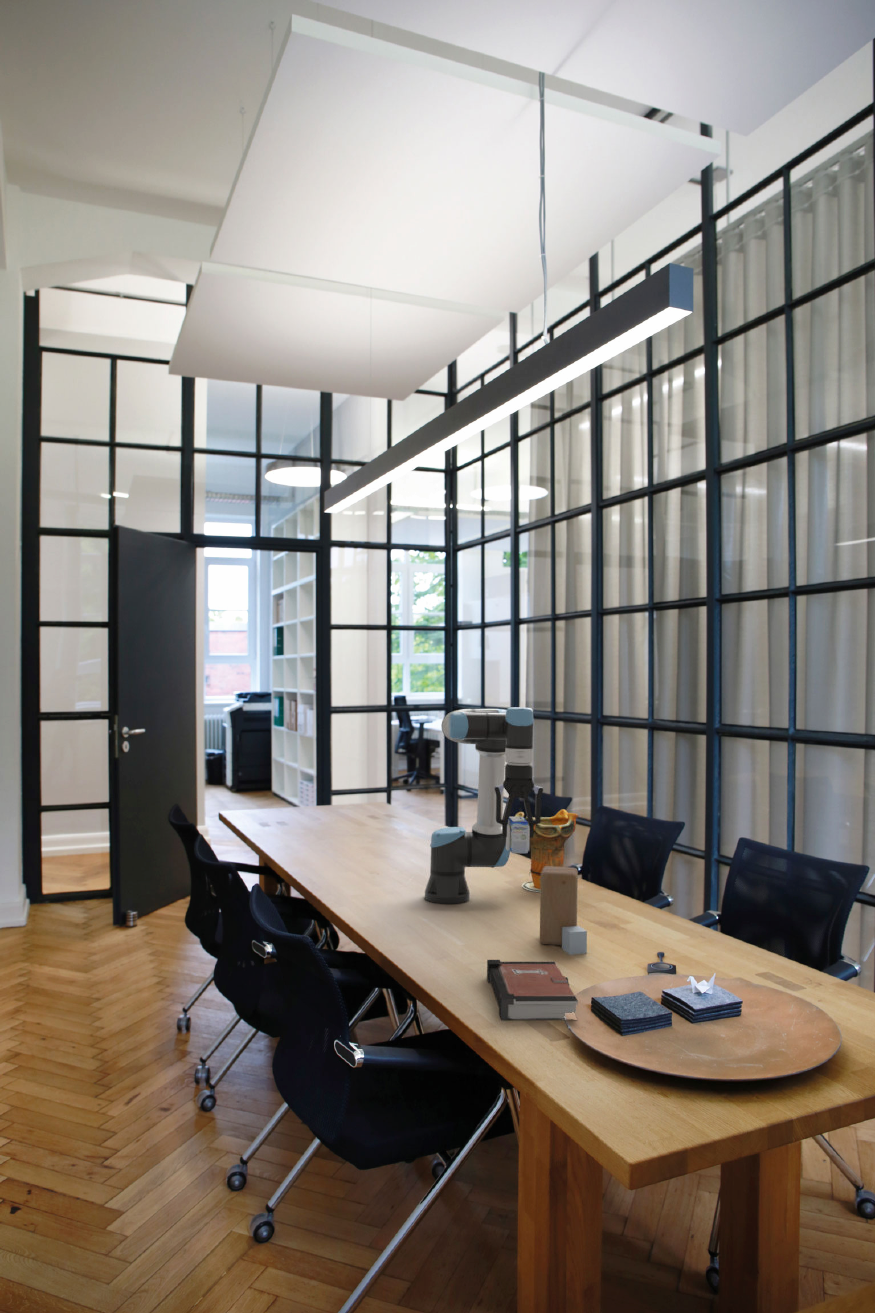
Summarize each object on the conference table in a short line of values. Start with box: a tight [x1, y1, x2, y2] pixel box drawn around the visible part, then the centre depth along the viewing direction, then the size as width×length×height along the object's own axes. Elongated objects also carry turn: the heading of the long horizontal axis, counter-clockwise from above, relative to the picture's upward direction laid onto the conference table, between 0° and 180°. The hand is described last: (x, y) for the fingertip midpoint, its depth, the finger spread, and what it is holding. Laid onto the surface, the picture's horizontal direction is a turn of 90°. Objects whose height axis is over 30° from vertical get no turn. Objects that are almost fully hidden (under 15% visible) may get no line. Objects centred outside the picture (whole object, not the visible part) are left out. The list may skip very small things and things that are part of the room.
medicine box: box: [507, 816, 529, 854], centre depth 231 cm, size 8×4×9 cm, turn 4°
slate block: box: [561, 925, 588, 955], centre depth 231 cm, size 5×5×6 cm
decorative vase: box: [514, 808, 579, 893], centre depth 303 cm, size 21×23×28 cm
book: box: [486, 959, 579, 1022], centre depth 196 cm, size 26×18×5 cm
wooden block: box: [539, 866, 579, 946], centre depth 240 cm, size 10×10×20 cm
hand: (517, 849), depth 231 cm, fingers closed on medicine box, 5 cm apart
